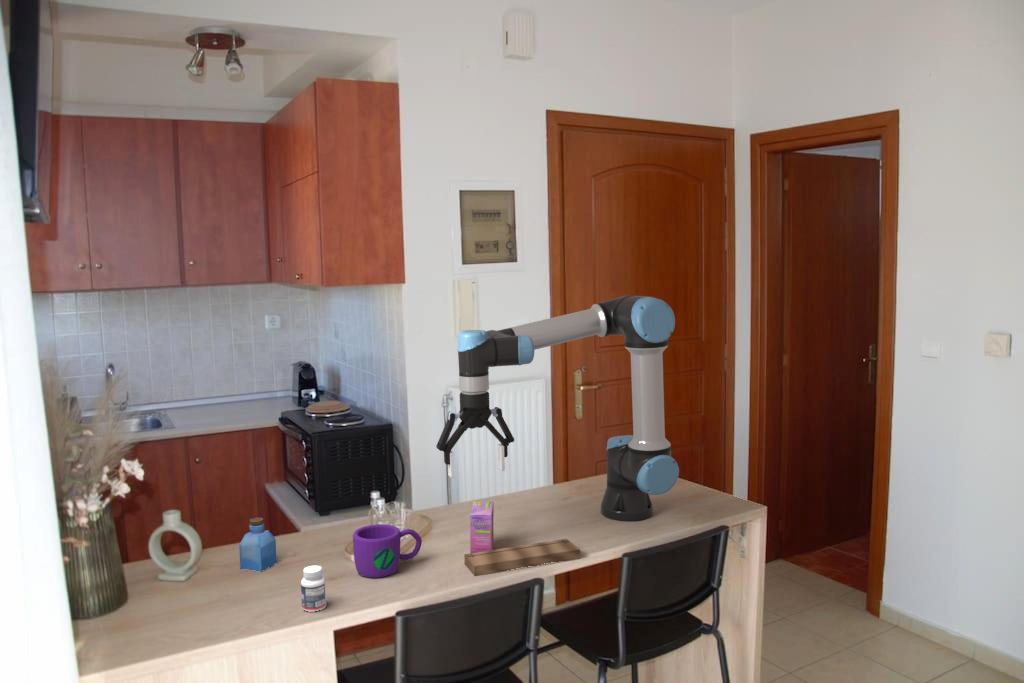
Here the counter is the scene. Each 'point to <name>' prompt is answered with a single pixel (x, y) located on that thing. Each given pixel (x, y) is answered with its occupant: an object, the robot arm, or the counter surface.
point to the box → (481, 527)
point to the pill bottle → (313, 589)
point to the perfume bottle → (257, 547)
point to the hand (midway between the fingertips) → (476, 473)
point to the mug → (380, 549)
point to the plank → (521, 556)
